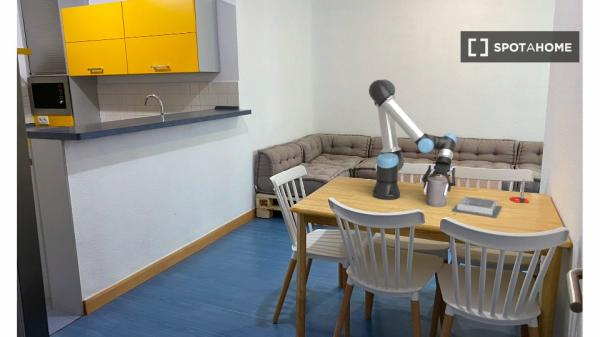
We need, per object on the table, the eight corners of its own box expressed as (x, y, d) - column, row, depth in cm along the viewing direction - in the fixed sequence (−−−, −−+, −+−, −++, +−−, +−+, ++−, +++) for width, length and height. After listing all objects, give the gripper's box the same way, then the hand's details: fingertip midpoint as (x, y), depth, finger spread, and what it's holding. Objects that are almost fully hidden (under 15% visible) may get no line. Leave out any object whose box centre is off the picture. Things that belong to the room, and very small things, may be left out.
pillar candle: (424, 201, 219) (425, 174, 215) (443, 201, 218) (444, 174, 214) (428, 207, 209) (430, 178, 206) (448, 207, 208) (449, 178, 205)
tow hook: (507, 198, 222) (513, 202, 213) (509, 175, 220) (515, 178, 211) (523, 199, 221) (530, 203, 212) (525, 175, 219) (532, 179, 210)
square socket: (452, 211, 201) (452, 204, 201) (460, 202, 216) (460, 195, 215) (496, 218, 191) (497, 210, 190) (501, 207, 205) (502, 200, 205)
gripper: (466, 165, 216) (458, 201, 206) (425, 161, 228) (415, 195, 218) (465, 157, 210) (456, 193, 201) (422, 153, 222) (412, 188, 213)
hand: (434, 194), depth 209 cm, fingers closed on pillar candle, 9 cm apart
